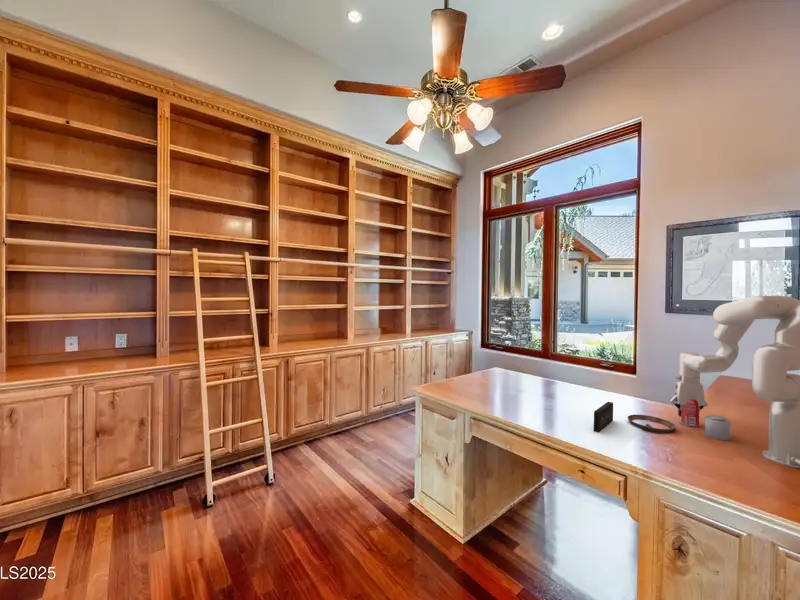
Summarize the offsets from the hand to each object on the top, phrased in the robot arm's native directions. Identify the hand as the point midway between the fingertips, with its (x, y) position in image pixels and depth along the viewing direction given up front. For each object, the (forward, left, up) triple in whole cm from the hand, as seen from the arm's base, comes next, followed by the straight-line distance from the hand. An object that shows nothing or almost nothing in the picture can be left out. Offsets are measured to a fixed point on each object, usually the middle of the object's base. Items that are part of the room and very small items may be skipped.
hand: (688, 418), depth 160 cm
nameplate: (-16, +39, -3) cm, 42 cm away
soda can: (0, 0, -3) cm, 3 cm away
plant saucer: (-8, +18, -4) cm, 20 cm away
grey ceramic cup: (-14, -4, -3) cm, 15 cm away
